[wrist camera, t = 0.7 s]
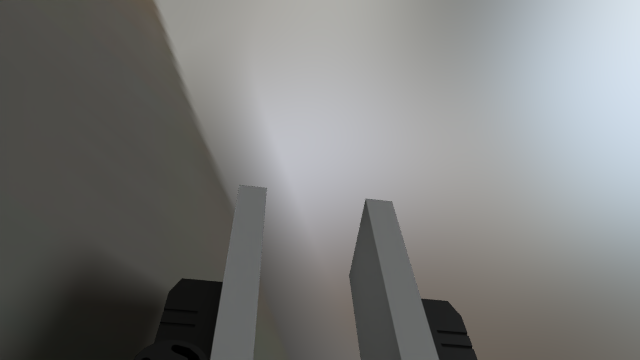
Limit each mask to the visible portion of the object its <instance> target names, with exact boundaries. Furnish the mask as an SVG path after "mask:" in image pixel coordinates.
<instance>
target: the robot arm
mask: <svg viewBox="0 0 640 360" xmlns="http://www.w3.org/2000/svg"><path fill="white" fill-rule="evenodd" d="M266 191H267V188H262V187H253V186H244V185H239V190H238V196H237V202H236V208H235V214H234V220H233V226H232V232H231V238H230V244H229V250H228V256H227V262H226V268H225V274H224V280H223V282H216V281H205V280H194V279H183V278H182V279H181V280H180V281H179V282H178V283H177V284H176V285H175V286H174V287H173V288H172V289H171V290H170V291H169V293H168V297H167V300H166V304H165V307H164V312H163V314H162V318H161V321H160V325H159V328H158V331H157V335H156V338H155V342H154V344H152V345H150V346H148V347H146V348H144V349H143V350H142V351H141V352H140V353H139V354H138V355H137V356H136V357H135V359H134V360H253V354H254V342H255V329H256V317H257V304H258V292H259V279H260V266H261V253H262V241H263V229H264V216H265V203H266ZM349 278H350V285H351V292H352V299H353V306H354V314H355V321H356V328H357V335H358V342H359V350H360V357H361V360H477V357H476V354H475V352H474V350H473V349H472V344H471V341H470V338H469V336H467V331H466V328H465V325H464V323H463V320H462V317H461V316H460V314H459V313H457V311H456V310H455V309H454V308H453V307H452V305H451V304H450V303H449V302H448V301H441V300H430V299H421V297H420V294H419V291H418V288H417V284H416V281H415V277H414V274H413V271H412V267H411V264H410V261H409V257H408V254H407V250H406V247H405V244H404V240H403V237H402V234H401V230H400V227H399V224H398V221H397V217H396V214H395V210H394V207H393V203H392V201H383V200H373V199H366V200H365V205H364V209H363V214H362V218H361V223H360V228H359V233H358V237H357V242H356V247H355V251H354V256H353V260H352V265H351V270H350V274H349Z"/></svg>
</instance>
